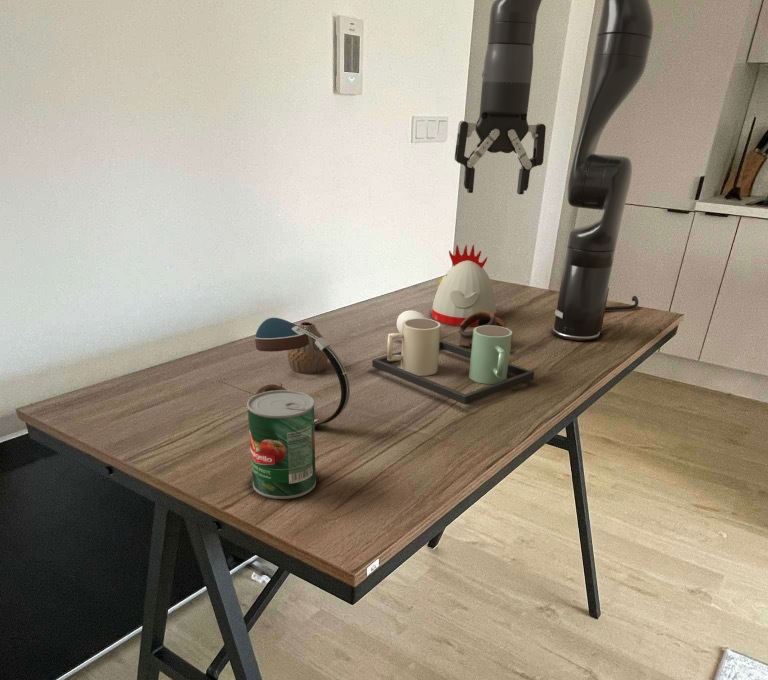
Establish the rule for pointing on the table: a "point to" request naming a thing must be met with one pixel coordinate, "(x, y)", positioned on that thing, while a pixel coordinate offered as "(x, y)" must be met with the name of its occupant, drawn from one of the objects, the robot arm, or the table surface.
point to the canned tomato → (282, 443)
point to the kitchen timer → (463, 290)
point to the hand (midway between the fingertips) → (495, 193)
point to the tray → (385, 366)
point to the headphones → (290, 336)
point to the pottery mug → (482, 320)
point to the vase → (308, 354)
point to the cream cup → (417, 346)
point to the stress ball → (405, 316)
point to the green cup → (490, 354)
